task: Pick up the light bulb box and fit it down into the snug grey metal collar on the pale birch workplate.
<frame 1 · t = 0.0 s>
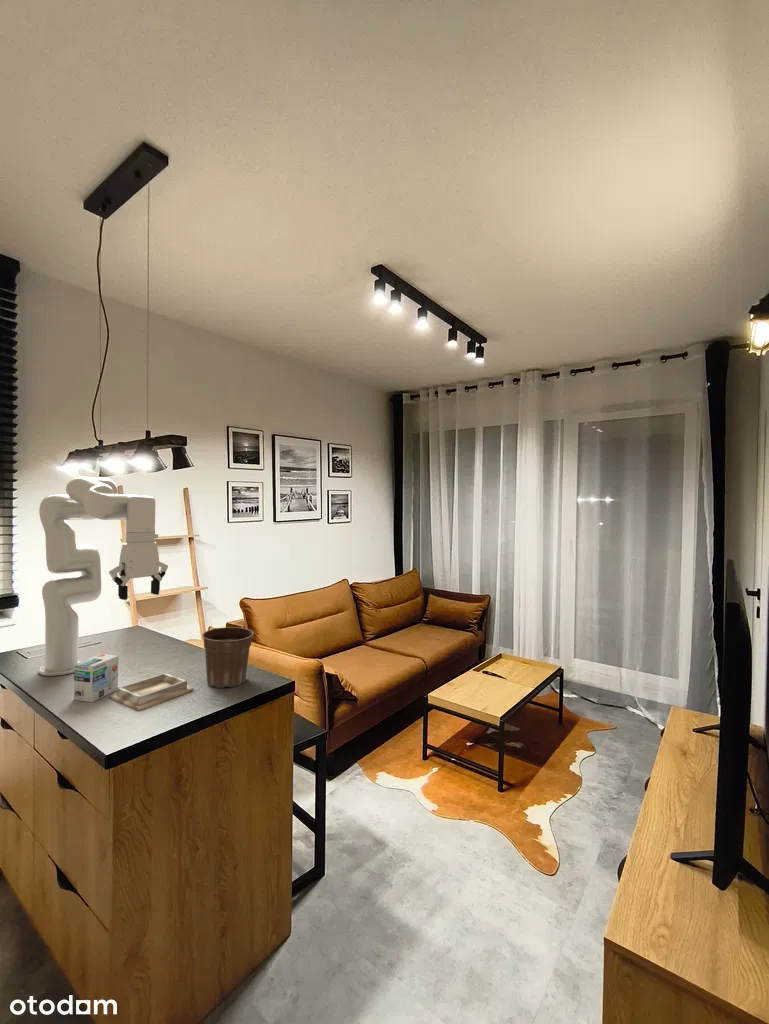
hand: (139, 596, 142), 31 cm above the table, tool pointing down, fingers open, 9 cm apart
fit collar: (152, 694, 149), on the table
plant pot: (227, 682, 161), on the table
light bulb box: (96, 695, 147), on the table
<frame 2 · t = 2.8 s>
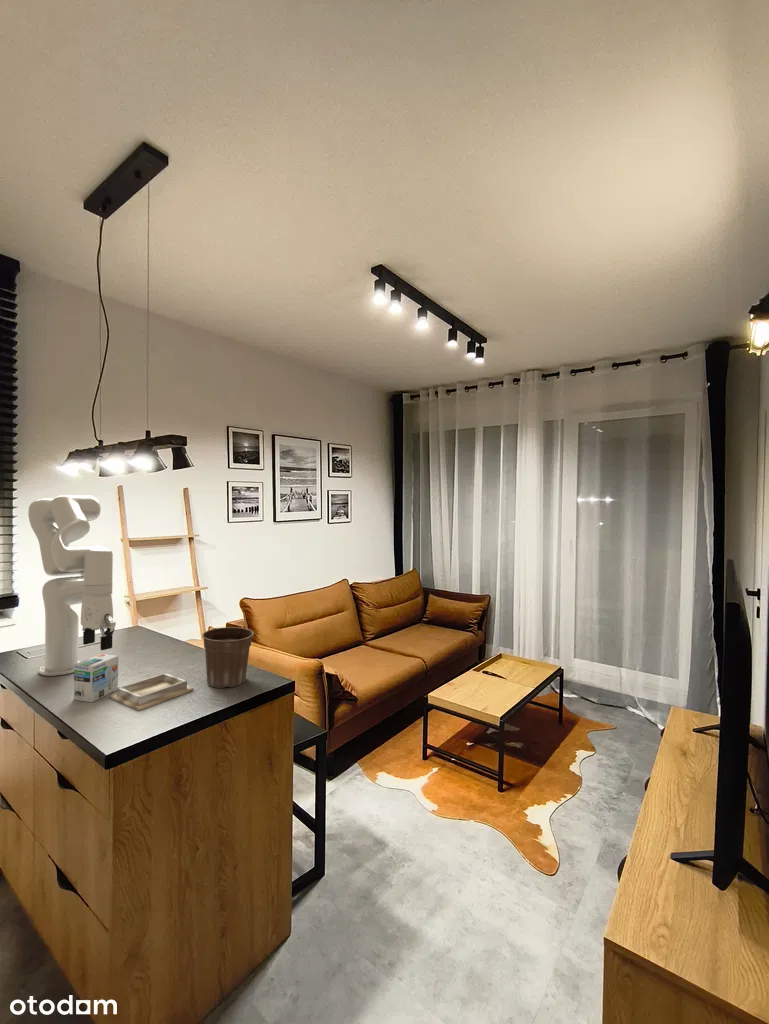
hand: (97, 646, 147), 15 cm above the table, tool pointing down, fingers open, 9 cm apart
nothing on the table moved.
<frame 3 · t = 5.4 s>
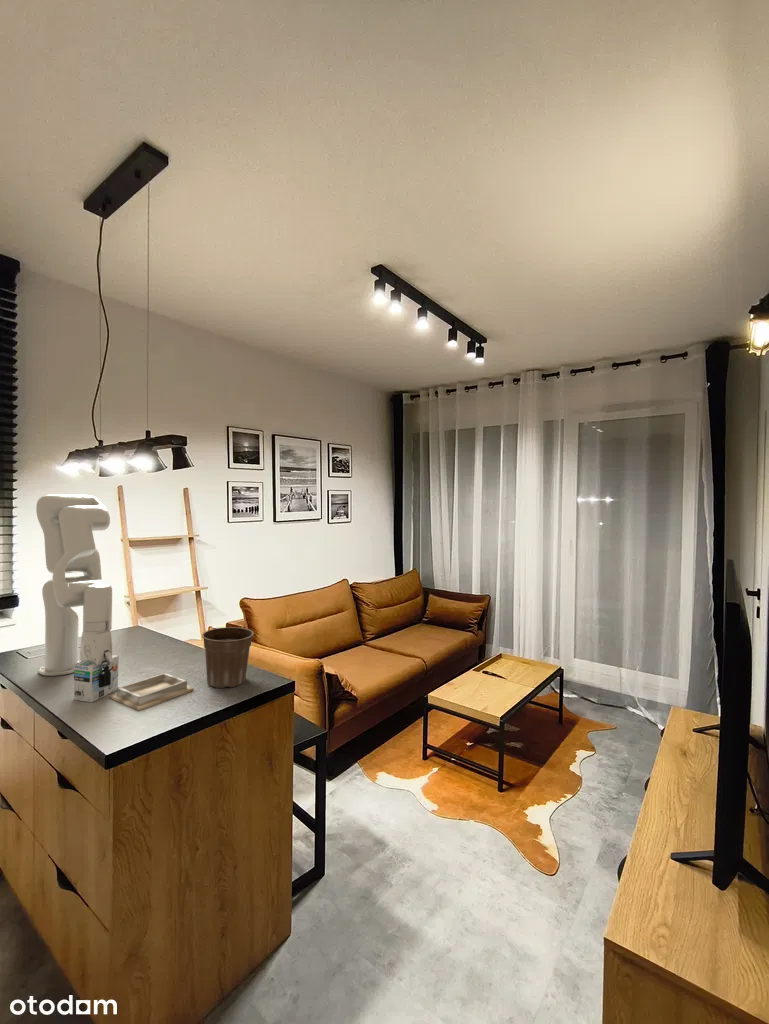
hand: (96, 682, 147), 4 cm above the table, tool pointing down, fingers closed on light bulb box, 8 cm apart
light bulb box: (96, 695, 147), on the table, touching gripper
everything else where it was.
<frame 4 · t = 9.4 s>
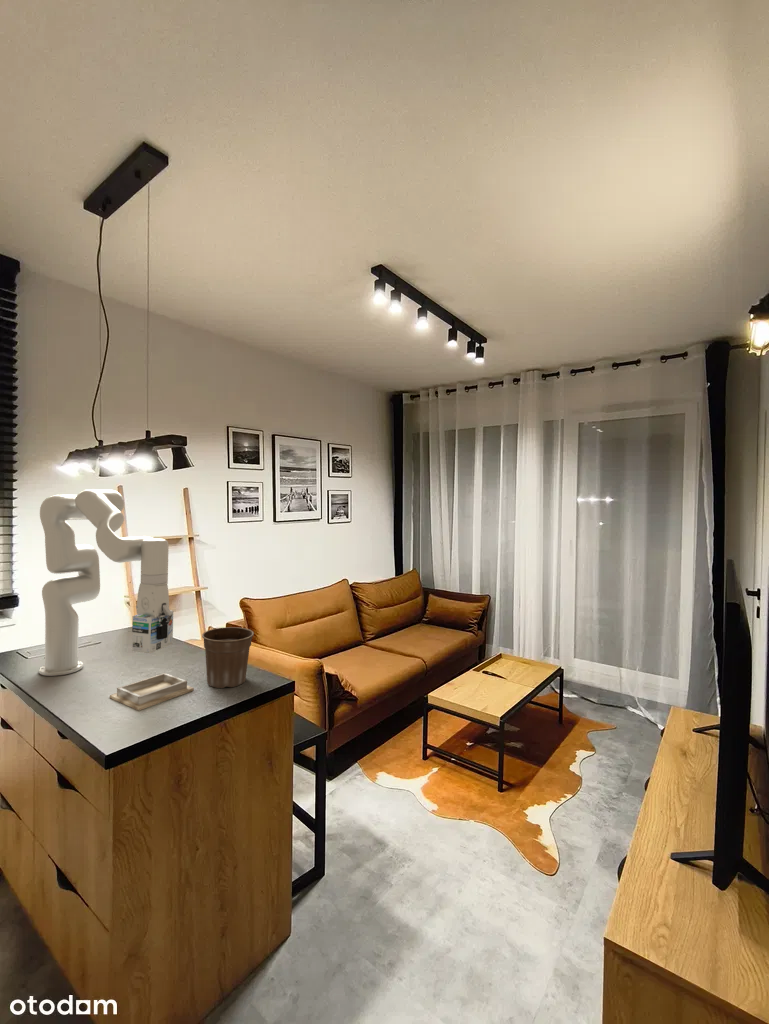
hand: (153, 635, 149), 18 cm above the table, tool pointing down, fingers closed on light bulb box, 8 cm apart
light bulb box: (152, 648, 149), point 14 cm above the table, touching gripper
everything else where it was.
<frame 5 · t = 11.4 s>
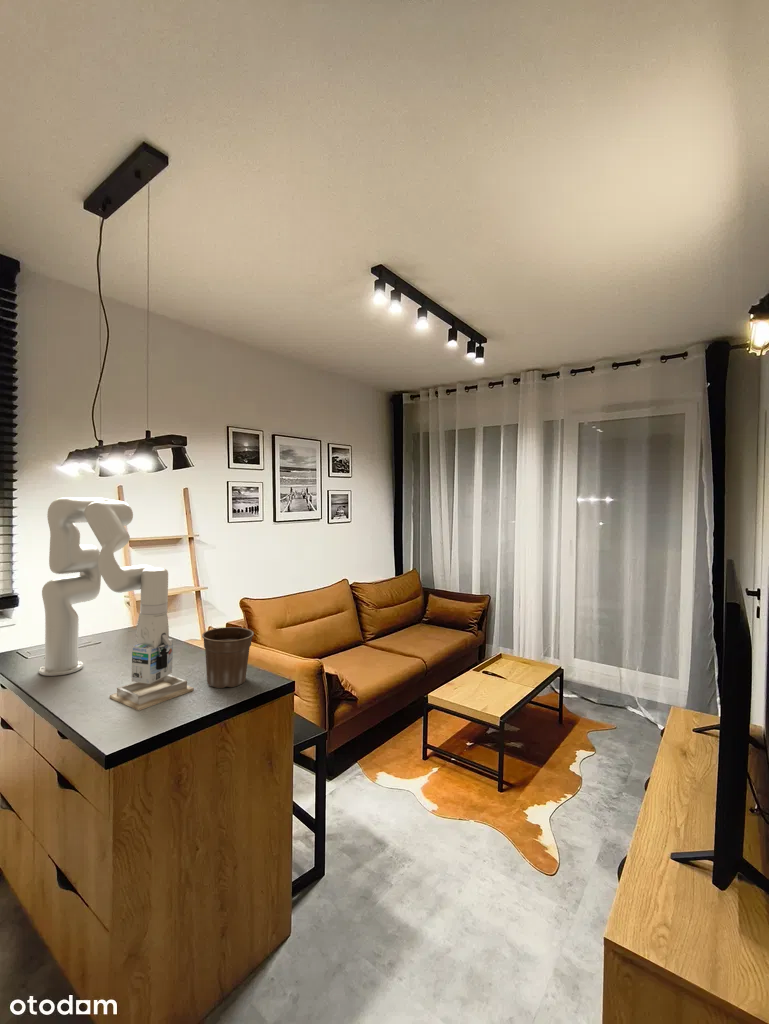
hand: (152, 665, 149), 9 cm above the table, tool pointing down, fingers closed on light bulb box, 8 cm apart
light bulb box: (152, 677, 149), point 5 cm above the table, touching gripper
everything else where it was.
when the fingers open (5 cm above the table, at t = 13.3 s): light bulb box stays where it is, resting on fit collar.
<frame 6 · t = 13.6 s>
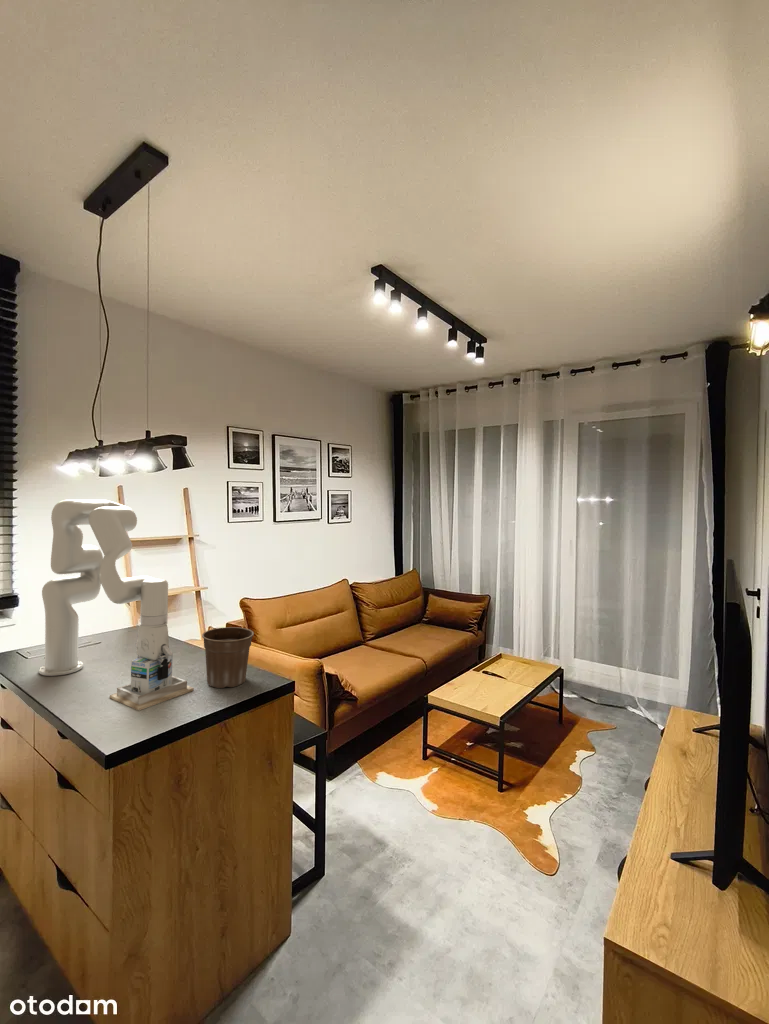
hand: (153, 675, 149), 6 cm above the table, tool pointing down, fingers open, 9 cm apart
light bulb box: (151, 691, 149), point 1 cm above the table, touching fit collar
everything else where it was.
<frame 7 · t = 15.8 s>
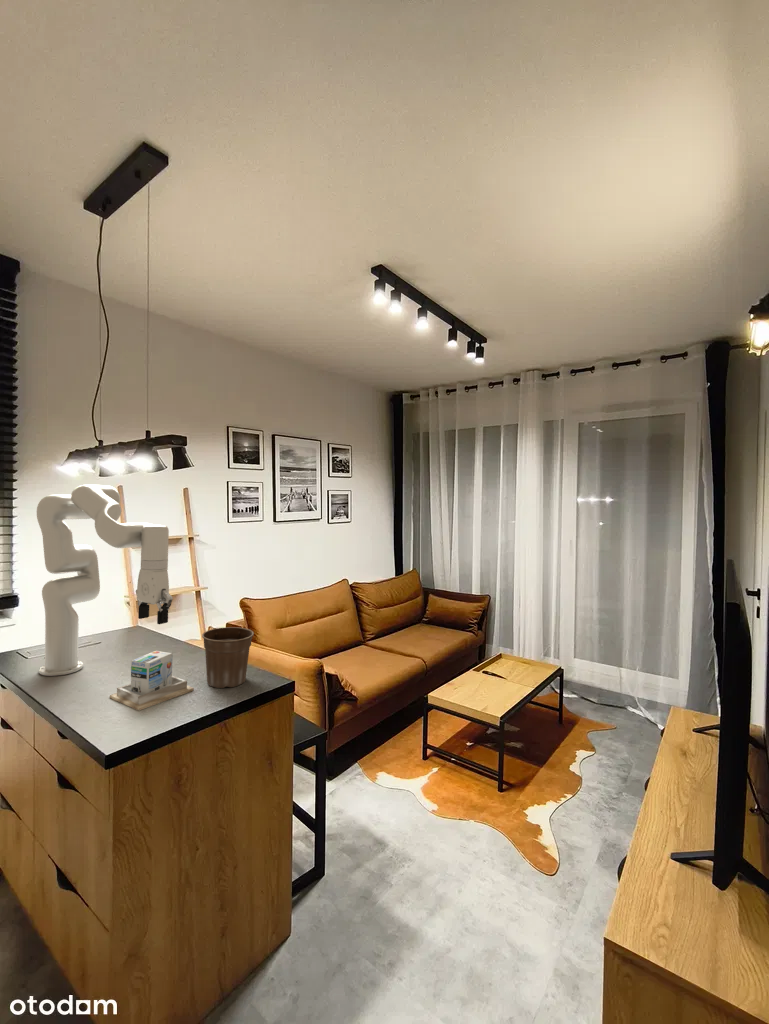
hand: (153, 620, 149), 22 cm above the table, tool pointing down, fingers open, 9 cm apart
nothing on the table moved.
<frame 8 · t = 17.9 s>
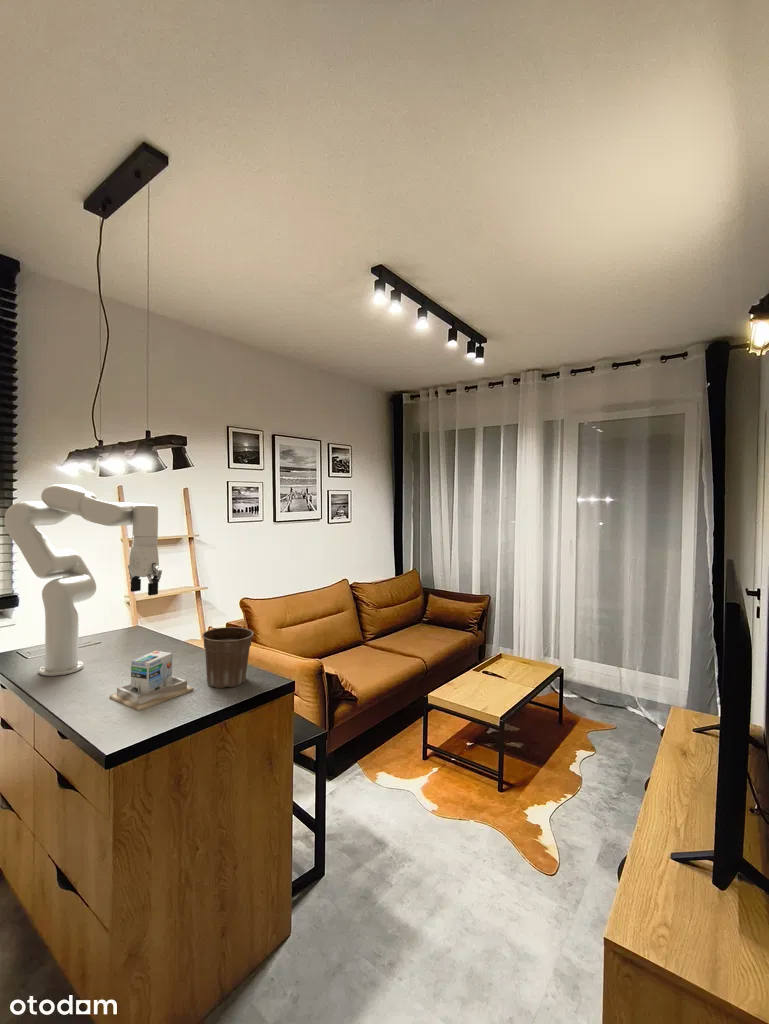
hand: (144, 593, 161), 28 cm above the table, tool pointing down, fingers open, 9 cm apart
nothing on the table moved.
at the end: light bulb box 0.4 cm off-centre on the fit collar, point 0.6 cm above the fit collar's base; light bulb box tilted 0°; the gripper is holding nothing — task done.
